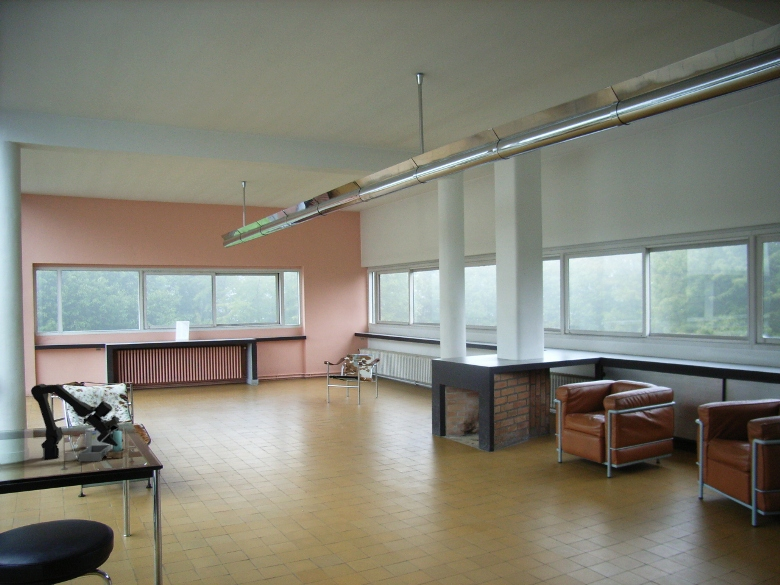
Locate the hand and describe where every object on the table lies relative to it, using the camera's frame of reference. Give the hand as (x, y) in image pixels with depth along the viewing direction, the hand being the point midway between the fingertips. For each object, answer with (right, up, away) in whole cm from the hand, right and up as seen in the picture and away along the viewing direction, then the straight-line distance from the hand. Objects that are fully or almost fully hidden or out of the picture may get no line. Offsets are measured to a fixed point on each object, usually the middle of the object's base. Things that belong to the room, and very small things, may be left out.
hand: (119, 443), depth 330 cm
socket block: (-1, -7, 0) cm, 7 cm away
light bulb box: (-21, -7, +20) cm, 30 cm away
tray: (-12, -7, -1) cm, 14 cm away
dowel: (-1, -7, 0) cm, 7 cm away
